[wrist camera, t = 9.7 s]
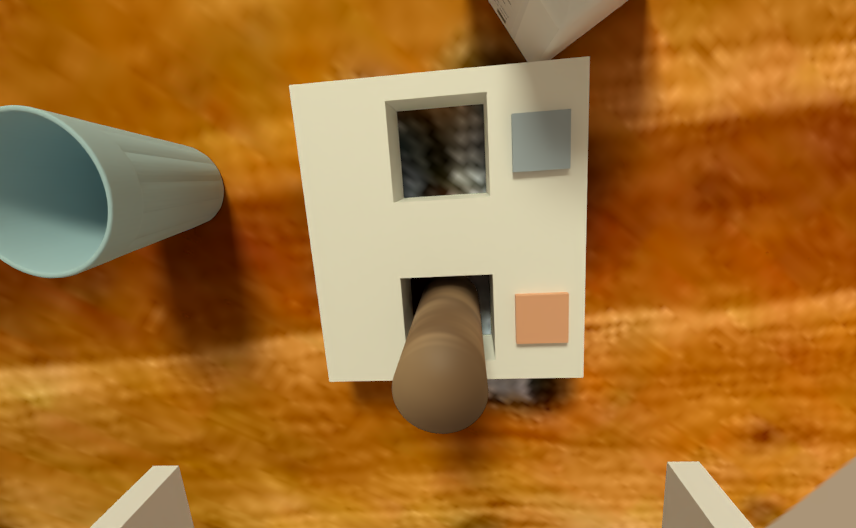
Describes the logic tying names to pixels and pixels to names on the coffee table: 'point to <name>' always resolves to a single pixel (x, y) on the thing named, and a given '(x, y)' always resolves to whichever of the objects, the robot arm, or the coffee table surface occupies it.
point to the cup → (93, 191)
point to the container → (550, 23)
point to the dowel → (443, 359)
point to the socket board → (450, 214)
